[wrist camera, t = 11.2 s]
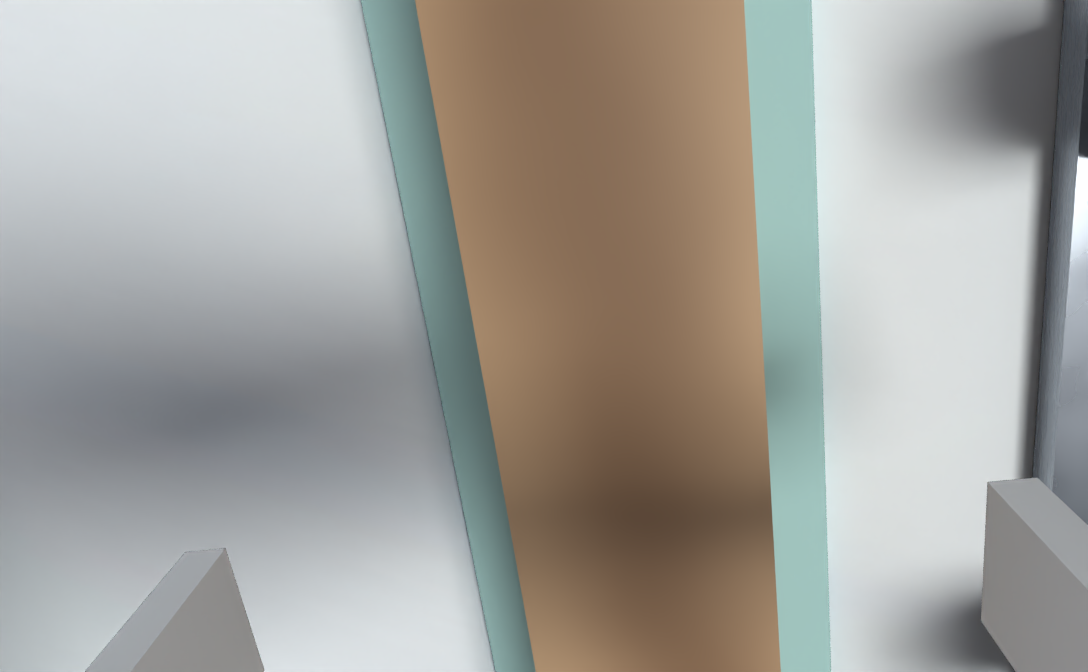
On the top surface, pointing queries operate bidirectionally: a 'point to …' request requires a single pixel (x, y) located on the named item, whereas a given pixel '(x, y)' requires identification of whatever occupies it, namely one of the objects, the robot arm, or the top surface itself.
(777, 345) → the mat
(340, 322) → the top surface
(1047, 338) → the standards
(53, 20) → the top surface
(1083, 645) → the robot arm
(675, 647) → the rail
